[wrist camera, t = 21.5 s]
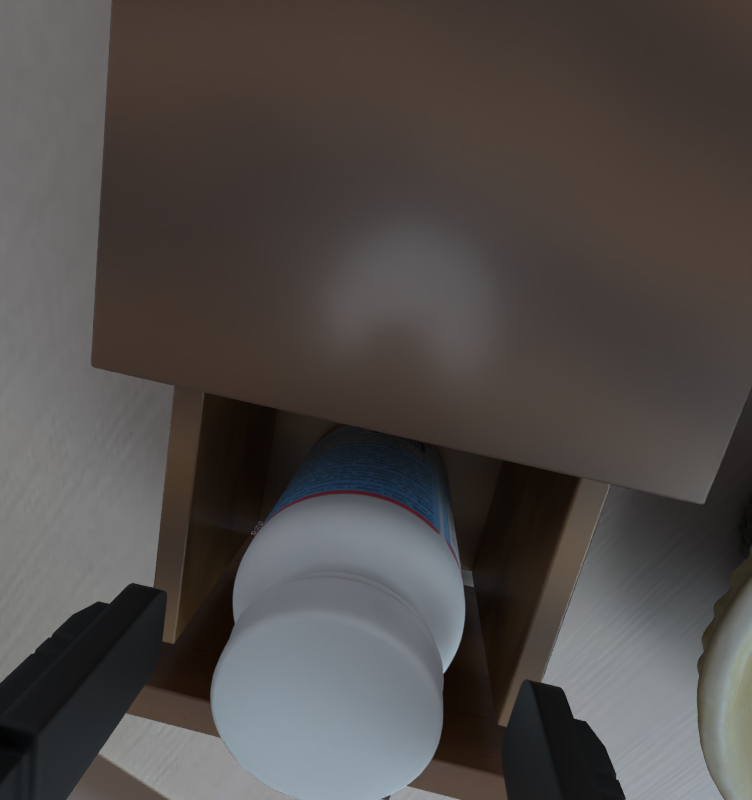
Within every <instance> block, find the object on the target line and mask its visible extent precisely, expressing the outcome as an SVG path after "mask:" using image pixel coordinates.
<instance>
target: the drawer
mask: <svg viewBox="0 0 752 800" xmlns="http://www.w3.org/2000/svg"><path fill="white" fill-rule="evenodd" d="M339 425H341V423H337V422H333V421H328V420H324V419H319V418H315V417H310V416H306V415H302V414H297V413H293V412H288V411H284V410H280V409H275V408H271V407H266V406H262V405H257V404H253V403H249V402H244V401H240V400H235V399H231V398H227V397H222V396H218V395H213V394H209V393H204V392H200V391H196V390H191V389H187V388H182V387H178V386H175V387H174V396H173V406H172V416H171V426H170V435H169V445H168V455H167V464H166V474H165V484H164V494H163V503H162V513H161V523H160V532H159V542H158V552H157V562H156V571H155V581H154V588H156V589H160V590H164V591H166V593H167V604H166V613H165V622H164V631H163V639H162V648H161V652H160V656H159V659H158V662H157V664H156V667H155V669H154V671H153V673H152V675H151V677H150V678H149V680H148V682H147V683H146V684H145V686H144V687H143V689H142V690H141V692H140V693H139V695H138V696H137V697H136V699H135V700H134V702H133V703H132V705H131V706H130V708H129V709H128V711H127V712H126V713H127V714H131V715H135V716H139V717H143V718H147V719H151V720H154V721H158V722H162V723H166V724H170V725H174V726H178V727H182V728H185V729H189V730H193V731H197V732H201V733H205V734H209V735H213V736H216V737H220V735H219V733H218V731H217V728H216V726H215V723H214V719H213V715H212V710H211V700H210V692H211V684H212V678H213V674H214V670H215V668H216V666H217V663H218V661H219V658H220V656H221V654H222V652H223V650H224V648H225V646H226V644H227V642H228V641H229V638H230V635H231V633H232V630H233V627H234V625H235V621H234V614H233V590H234V583H235V579H236V575H237V572H238V568H239V566H240V563H241V561H242V558H243V556H244V554H245V552H246V551H247V549H248V547H249V545H250V543H251V542H252V540H253V538H254V537H255V535H252V534H251V532H252V531H253V529H254V528H255V526H256V525H257V524H258V522H259V521H262V522H264V521H265V520H266V518H267V517H268V515H269V514H270V512H271V511H272V509H273V508H274V506H275V505H276V503H277V502H278V500H279V498H280V497H281V495H282V494H283V492H284V491H285V489H286V488H287V486H288V485H289V483H290V481H291V480H292V478H293V477H294V475H295V474H296V472H297V471H298V469H299V468H300V466H301V464H302V463H303V461H304V460H305V458H306V457H307V455H308V454H309V452H310V451H311V450H312V448H313V447H314V446H315V445H316V443H317V442H318V441H319V440H320V439H321V438H322V437H323V436H324V435H326V434H327V433H328V432H329V431H331V430H332V429H334V428H335V427H337V426H339ZM432 445H433V446H434V448H435V449H436V450H437V452H438V454H439V455H440V457H441V459H442V461H443V464H444V466H445V469H446V473H447V477H448V481H449V488H450V495H451V502H452V509H453V516H454V523H455V531H456V538H457V545H458V552H459V559H460V565H461V569H464V570H469V571H472V576H473V582H474V587H470V586H466V585H463V586H464V598H465V621H464V628H463V633H462V637H461V641H460V644H459V647H458V650H457V652H456V654H455V656H454V658H453V660H452V661H451V663H450V665H449V667H448V668H447V670H446V671H445V672H444V674H443V677H444V682H443V692H442V694H443V726H442V731H441V736H440V740H439V744H438V746H437V749H436V751H435V753H434V756H433V758H432V759H431V761H430V762H429V764H428V765H427V766H426V768H425V769H424V770H423V771H422V773H421V774H420V775H419V776H418V777H417V778H415V779H414V780H413V781H412V782H411V783H410V784H408V785H407V786H410V787H414V788H418V789H421V790H425V791H429V792H433V793H437V794H441V795H445V796H449V797H452V798H456V799H460V800H508V799H507V793H506V787H505V781H504V775H503V769H502V744H503V738H504V734H505V730H506V727H507V724H508V721H509V719H510V716H511V713H512V710H513V707H514V704H515V701H516V698H517V695H518V692H519V689H520V686H521V684H522V682H523V681H524V680H525V679H528V680H532V681H536V682H540V683H541V682H542V679H543V676H544V673H545V671H546V668H547V665H548V662H549V659H550V656H551V654H552V651H553V648H554V645H555V642H556V640H557V637H558V634H559V631H560V628H561V625H562V623H563V620H564V617H565V614H566V611H567V608H568V606H569V603H570V600H571V597H572V594H573V592H574V589H575V586H576V583H577V580H578V577H579V575H580V572H581V569H582V566H583V563H584V561H585V558H586V555H587V552H588V549H589V546H590V544H591V541H592V538H593V535H594V532H595V529H596V527H597V524H598V521H599V518H600V515H601V513H602V510H603V507H604V504H605V501H606V498H607V496H608V493H609V490H610V487H611V484H606V483H602V482H598V481H593V480H589V479H584V478H580V477H575V476H571V475H567V474H562V473H558V472H553V471H549V470H545V469H540V468H536V467H531V466H527V465H522V464H518V463H514V462H509V461H505V460H500V459H496V458H492V457H487V456H483V455H478V454H474V453H469V452H465V451H461V450H456V449H452V448H447V447H443V446H439V445H434V444H432ZM220 738H221V737H220ZM389 798H390V795H389V796H387V797H384V798H381V799H383V800H389Z"/></svg>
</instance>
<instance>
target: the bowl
mask: <svg viewBox="0 0 752 800" xmlns="http://www.w3.org/2000/svg"><path fill="white" fill-rule="evenodd" d="M739 532H740V534H741V536H740V553H741V554H742V556H743V557H744V559H745V560H744V561H743V562H742V563H741V564H740V565H739V566H738V567H737V568H736V569H735V570H734V571H733V572H732V573H731V574H730V578H729V580H730V583H731V588H730V590H729V591H728V592H727V593H726V594H725V595H724V596H723V597H722V598H720V599H719V600H718V601H717V602H716V603H715V605H714V615H715V617H714V619H713V621H712V622H711V623H710V625H709V626H708V627H707V628H706V630H705V631H704V633H703V636H702V644H703V648H704V653H703V654H702V655H701V657H700V658H699V660H698V664H697V668H698V673H699V681H698V688H697V707H698V729H699V735H700V742H701V747H702V751H703V755H704V759H705V762H706V765H707V768H708V771H709V773H710V775H711V777H712V779H713V781H714V783H715V784H716V786H717V788H718V790H719V792H720V794H721V795H722V797H723V798H724V800H752V501H751V503H750V504H749V505H748V507H747V510H746V515H745V518H744V521H743V522H742V524H741V525H740V527H739Z"/></svg>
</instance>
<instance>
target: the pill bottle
mask: <svg viewBox="0 0 752 800" xmlns="http://www.w3.org/2000/svg"><path fill="white" fill-rule="evenodd" d="M233 614H234V621H235V625H234V627H233V630H232V633H231V635H230V638H229V641H228V642H227V644H226V646H225V648H224V650H223V652H222V654H221V656H220V658H219V661H218V663H217V666H216V668H215V670H214V674H213V678H212V684H211V692H210V700H211V710H212V715H213V719H214V723H215V726H216V728H217V731H218V733H219V735H220V737H221V739H222V740H223V742H224V744H225V746H226V747H227V749H228V750H229V752H230V753H231V754H232V756H233V757H234V758H235V760H236V761H237V762H238V763H239V764H240V765H241V766H242V767H243V768H244V769H245V770H246V771H248V772H249V773H250V774H251V775H253V776H254V777H255V778H257V779H258V780H259V781H261V782H262V783H264V784H266V785H267V786H269V787H271V788H273V789H275V790H277V791H279V792H281V793H283V794H286V795H288V796H291V797H294V798H297V799H300V800H378V799H381V798H384V797H387V796H389V795H391V794H393V793H395V792H397V791H399V790H401V789H402V788H404V787H405V786H407V785H408V784H410V783H411V782H412V781H413V780H414V779H415V778H417V777H418V776H419V775H420V774H421V773H422V771H423V770H424V769H425V768H426V766H427V765H428V764H429V762H430V761H431V759H432V758H433V756H434V753H435V751H436V749H437V746H438V744H439V740H440V736H441V731H442V726H443V694H442V692H443V682H444V677H443V674H444V672H445V671H446V670H447V668H448V667H449V665H450V663H451V661H452V660H453V658H454V656H455V654H456V652H457V650H458V647H459V644H460V641H461V637H462V633H463V628H464V621H465V598H464V586H463V580H462V573H461V565H460V559H459V552H458V545H457V538H456V531H455V523H454V516H453V509H452V502H451V495H450V488H449V481H448V477H447V473H446V469H445V466H444V464H443V461H442V459H441V457H440V455H439V454H438V452H437V450H436V449H435V448H434V446H433V445H432V444H430V443H425V442H421V441H416V440H412V439H408V438H403V437H399V436H394V435H390V434H386V433H381V432H377V431H372V430H368V429H363V428H359V427H355V426H350V425H346V424H341V425H339V426H337V427H335V428H334V429H332V430H331V431H329V432H328V433H327V434H326V435H324V436H323V437H322V438H321V439H320V440H319V441H318V442H317V443H316V445H315V446H314V447H313V448H312V450H311V451H310V452H309V454H308V455H307V457H306V458H305V460H304V461H303V463H302V464H301V466H300V468H299V469H298V471H297V472H296V474H295V475H294V477H293V478H292V480H291V481H290V483H289V485H288V486H287V488H286V489H285V491H284V492H283V494H282V495H281V497H280V498H279V500H278V502H277V503H276V505H275V506H274V508H273V509H272V511H271V512H270V514H269V515H268V517H267V518H266V520H265V521H264V523H263V525H262V526H261V528H260V529H259V531H258V532H257V534H256V535H255V537H254V538H253V540H252V542H251V543H250V545H249V547H248V549H247V551H246V552H245V554H244V556H243V558H242V561H241V563H240V566H239V568H238V572H237V575H236V579H235V583H234V590H233Z"/></svg>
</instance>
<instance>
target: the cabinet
mask: <svg viewBox="0 0 752 800" xmlns="http://www.w3.org/2000/svg"><path fill="white" fill-rule="evenodd" d="M91 365H92V366H93V367H95V368H98V369H103V370H107V371H112V372H116V373H121V374H125V375H129V376H134V377H138V378H143V379H147V380H151V381H156V382H160V383H165V384H169V385H174V386H178V387H182V388H187V389H191V390H196V391H200V392H204V393H209V394H213V395H218V396H222V397H227V398H231V399H235V400H240V401H244V402H249V403H253V404H257V405H262V406H266V407H271V408H275V409H280V410H284V411H288V412H293V413H297V414H302V415H306V416H310V417H315V418H319V419H324V420H328V421H333V422H337V423H341V424H346V425H350V426H355V427H359V428H363V429H368V430H372V431H377V432H381V433H386V434H390V435H394V436H399V437H403V438H408V439H412V440H416V441H421V442H425V443H430V444H434V445H439V446H443V447H447V448H452V449H456V450H461V451H465V452H469V453H474V454H478V455H483V456H487V457H492V458H496V459H500V460H505V461H509V462H514V463H518V464H522V465H527V466H531V467H536V468H540V469H545V470H549V471H553V472H558V473H562V474H567V475H571V476H575V477H580V478H584V479H589V480H593V481H598V482H602V483H606V484H611V485H615V486H620V487H624V488H628V489H633V490H637V491H642V492H646V493H651V494H655V495H659V496H664V497H668V498H673V499H677V500H681V501H686V502H690V503H695V504H700V505H702V504H704V503H705V501H706V499H707V496H708V494H709V492H710V489H711V487H712V484H713V482H714V479H715V477H716V475H717V472H718V470H719V467H720V465H721V462H722V460H723V458H724V455H725V453H726V450H727V448H728V445H729V443H730V441H731V438H732V436H733V433H734V431H735V428H736V426H737V424H738V421H739V419H740V416H741V414H742V411H743V409H744V406H745V404H746V402H747V399H748V397H749V394H750V392H751V389H752V0H112V8H111V26H110V43H109V60H108V78H107V95H106V112H105V130H104V147H103V164H102V182H101V199H100V216H99V234H98V251H97V268H96V286H95V303H94V320H93V338H92V355H91Z"/></svg>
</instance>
